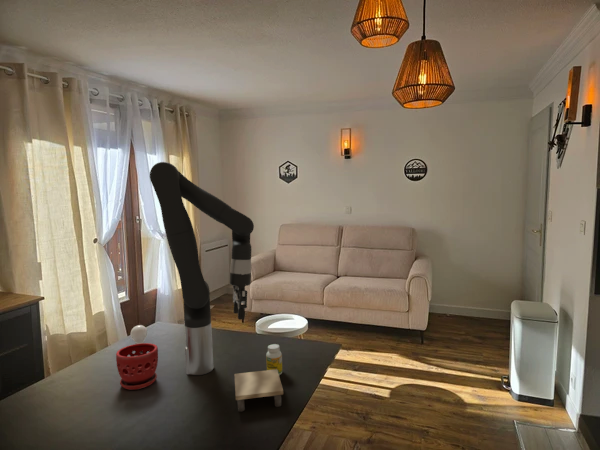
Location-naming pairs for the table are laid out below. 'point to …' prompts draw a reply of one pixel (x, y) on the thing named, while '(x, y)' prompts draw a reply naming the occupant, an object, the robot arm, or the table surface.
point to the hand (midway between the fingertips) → (238, 316)
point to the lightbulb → (139, 334)
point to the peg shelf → (257, 386)
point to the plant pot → (137, 365)
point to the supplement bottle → (274, 358)
